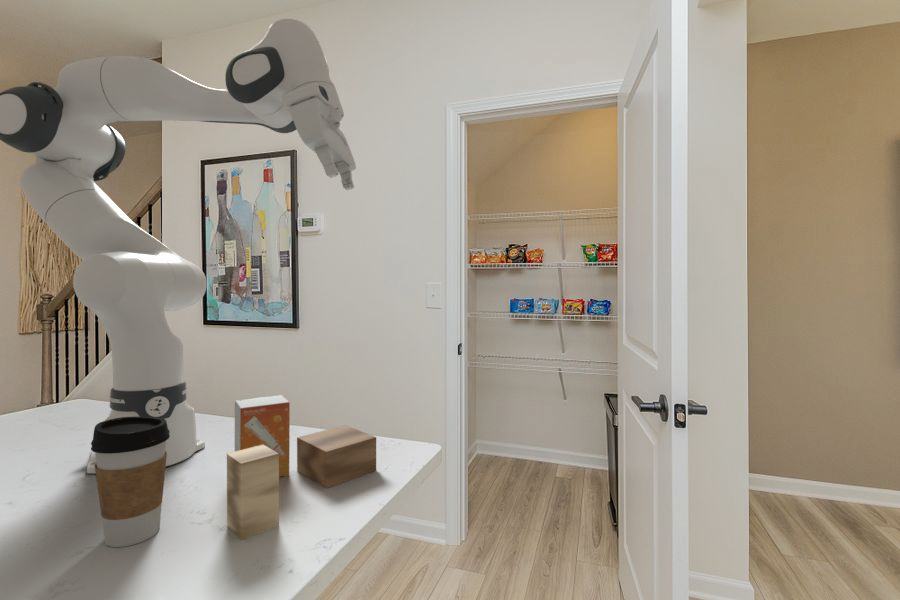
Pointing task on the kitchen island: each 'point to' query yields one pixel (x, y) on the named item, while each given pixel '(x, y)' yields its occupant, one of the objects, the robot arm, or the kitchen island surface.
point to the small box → (264, 426)
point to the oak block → (252, 490)
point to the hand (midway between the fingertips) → (341, 182)
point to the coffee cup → (130, 477)
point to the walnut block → (336, 455)
